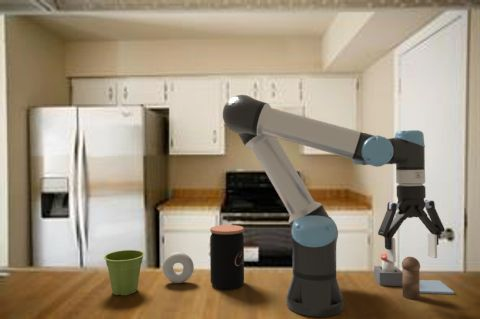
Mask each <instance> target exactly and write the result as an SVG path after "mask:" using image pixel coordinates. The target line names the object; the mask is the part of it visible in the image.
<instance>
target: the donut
mask: <svg viewBox="0 0 480 319" xmlns="http://www.w3.org/2000/svg"><path fill="white" fill-rule="evenodd" d="M176 264H180V265H182V267H183V269H182V270H181V271H180V272H178V271H176V270H174V266H175V265H176ZM194 267H195V265H194V262H193V260H192V258H191V256H190V255H189V254H187V253H184V252H182V251H181V252H180V251H176V252H172V253H170V254H169V255H168V256H166V258H165V259H164V261H163V263H162V273H163V275H164V276H165V278H166V279H167V280H168V281H170V282H171V283H173V284H182V283H184V282H186V281H188V280H189V279H190V278H191V277H192V276H193V273H194V269H195V268H194Z"/></svg>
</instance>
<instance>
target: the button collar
mask: <svg viewBox="0 0 480 319" xmlns="http://www.w3.org/2000/svg"><path fill="white" fill-rule="evenodd" d="M373 270H374V271H373V278H374V280H375V281H376V282H377V284H378V285H379V286H385V287H403V271H402V270H401V269H400V268H398V267H397V266H395V272H384V271H382V265H374V266H373Z"/></svg>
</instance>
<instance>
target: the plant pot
mask: <svg viewBox="0 0 480 319" xmlns="http://www.w3.org/2000/svg"><path fill="white" fill-rule="evenodd" d="M145 255H146V254H145V252H144V251H143V250H137V249H123V250H116V251H111V252H109V253H106V254H105V255H104V256H103V260H105V263H106V267H107V270H108V271H107V272H108V275H109V281H110V286H111V292H112V294H113V295H115V296H119V295H121V296H124V295H125V296H129V295H132V293H133V294H134V293H136V292H137V291H138V286H139V280H140V275H141V274H140V273H141V269H142V268H141V266H142V263H143V259H144V256H145Z"/></svg>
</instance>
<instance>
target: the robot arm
mask: <svg viewBox="0 0 480 319" xmlns="http://www.w3.org/2000/svg"><path fill="white" fill-rule="evenodd" d="M222 119H223V122H224V124H225V126H226V127H227V128H228V129H229V131H231V132H233V133H235V134H237V135H238V137H239V138H240V140H241V142H242V144H243V145H244V146H245V148H248V149H251V150H252V151H253V154H255V157H256V158H257V160H258V162H259V163H260V165H261V166H262V168H263V170H264V172H265V174H266V175H267V177H268V179H269V181H270V182H271V184H272V186H273V187H274V190H275V191H276V194H278V197H279V198H280V200H281V201H282V203H283V206H284V207H285V208H286V210H287V212H288V213H289V219H288V223H289V226H290V227H291V237H292V241H291V242H292V244H291V245H292V277H291V280H290V283H289V286H288V289H287V292H286V300H285V301H286V304H285V305H286V307H287V308H288V309H289V310H290V311H292V312H294V313H296V314H298V315H302V316H307V317H314V318H315V317H316V318H326V317H333V316H335V315H336V316H337V315H338V314H340V313H342V311H343V310H344V298H343V294H342V292H341V288H340V285H339V283H338V279H337V244H338V242H337V241H338V238H339V230H338V227H337V224H336V221H335V220H334V219H332V217H331V216H329V214H328V212H327V211H326V209H325V207H324V206H323V204H322V203H321V202H317V201H315V199H314V198H313V197H312V195H311V193H310V192H309V190H308V188H307V187H306V185H305V183H304V182H303V180H302V178H301V177H300V175H299V173H298V171H297V170H296V167H295V166H294V165H293V163H292V161H291V159H290V158H289V156H288V155H287V153H286V151H285V150H284V147H283V146H282V144H281V143H280V140H284V141H288V142H291V143H294V144H298V145H301V146H305V147H309V148H312V149H315V150H319V151H322V152H326V153H328V154H333V155H337V156H340V157H344V158H347V159H350V160H352V162H353V165H354V164H355V165H356V166H357V165H361V166H368V165H369V166H372V167H377V168H378V167H383V166H385V165H395V180H396V181H395V182H396V184H398V185H396V198H397V203H396V202H389V201H388V203H387V208H386V212H385V214H384V216H383V219H382V222H381V223H380V227H379V229H378V231H377V232H378V233H377V234H378V235H379V236H380V237H384V248H385V250H386V254H387V260H389V261H392V262H395V263H396V262H397V261H396V260H397V259H396V258H397V256H396V238H394V236H395V234H396V233H397V231H398V230H399V229H400V227H401V226H402V225H403V223H404V222H405V221H406V220H407V219H412V218H418V219H419V220H420V221H421V223H422V224H423V225H424V226H425V228H426V229H427V231H429V233H427V253H428V254H427V256H428V257H431V258H434V259H437V258H438V245H439V236H441V235H442V233H443V232H446V229H445V227H444V225H443V222H442V220H441V218H440V216H439V213H438V211H437V210H436V204H435V201H434V200H429V199H426V197H427V196H426V193H427V192H426V186H425V185H424V184H425V183H426V170H425V168H426V166H425V164H426V163H425V162H426V161H425V157H426V156H425V154H426V152H425V151H426V150H425V147H426V144H425V138H424V137H425V136H424V132H422V130H418V129H417V130H414V129H413V130H400V131H399V130H398V131H396V132H395V134H394V137H392V138H387V137H385V136H381V135H373V134H370V133H366V132H362V131H359V130H356V129H351V128H348V127H344V126H340V125H336V124H333V123H328V122H325V121H321V120H317V119H314V118H310V117H306V116H303V115H299V114H295V113H291V112H287V111H284V110H280V109H277V108H272V107H271V105H270V103H268V102H265V101H261V100H258V99H256V98H253V97H252V96H249V95H245V94H237V95H235V96H232V97H230V99H228V100H227V101H226V103H225V104H224V106H223V109H222ZM279 139H280V140H279ZM424 209H425V210H426V211H425V210H424Z"/></svg>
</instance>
